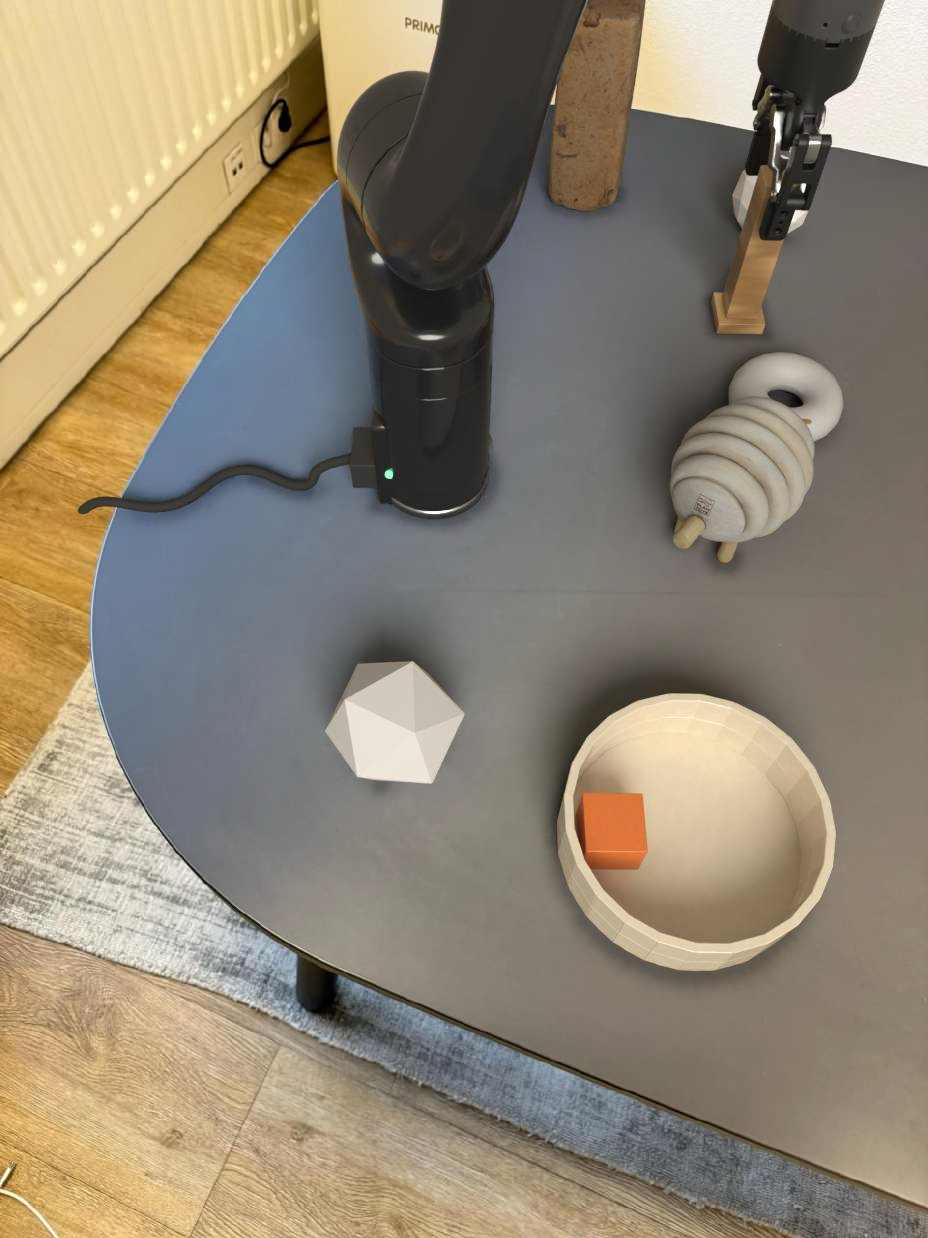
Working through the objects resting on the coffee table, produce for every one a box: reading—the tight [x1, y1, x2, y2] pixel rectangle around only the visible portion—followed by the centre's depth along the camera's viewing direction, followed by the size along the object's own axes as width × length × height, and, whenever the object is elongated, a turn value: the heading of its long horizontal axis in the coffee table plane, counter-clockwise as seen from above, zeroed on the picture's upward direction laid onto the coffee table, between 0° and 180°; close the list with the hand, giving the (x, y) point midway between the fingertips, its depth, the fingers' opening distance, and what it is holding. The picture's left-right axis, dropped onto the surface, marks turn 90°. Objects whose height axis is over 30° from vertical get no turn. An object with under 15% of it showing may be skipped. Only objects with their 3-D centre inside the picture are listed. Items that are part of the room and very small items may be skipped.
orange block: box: [576, 793, 648, 870], centre depth 65 cm, size 4×4×4 cm
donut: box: [728, 351, 844, 442], centre depth 86 cm, size 10×4×10 cm
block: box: [548, 0, 647, 212], centre depth 95 cm, size 11×8×20 cm
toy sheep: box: [669, 396, 816, 563], centre depth 76 cm, size 11×17×11 cm, turn 146°
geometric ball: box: [731, 154, 814, 235], centre depth 97 cm, size 8×8×8 cm
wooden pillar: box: [710, 165, 796, 335], centre depth 87 cm, size 4×4×15 cm
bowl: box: [556, 692, 837, 972], centre depth 65 cm, size 17×17×6 cm
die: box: [324, 660, 466, 785], centre depth 67 cm, size 8×9×10 cm
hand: (763, 204), depth 83 cm, fingers open, 8 cm apart
